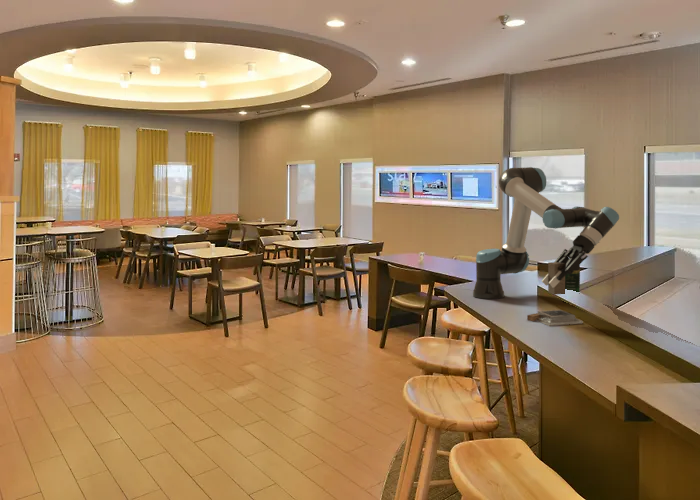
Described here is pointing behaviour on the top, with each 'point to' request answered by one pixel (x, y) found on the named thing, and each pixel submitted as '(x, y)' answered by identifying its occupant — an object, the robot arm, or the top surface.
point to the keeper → (557, 318)
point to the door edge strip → (533, 317)
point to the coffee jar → (573, 280)
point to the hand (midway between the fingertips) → (547, 284)
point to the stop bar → (552, 271)
